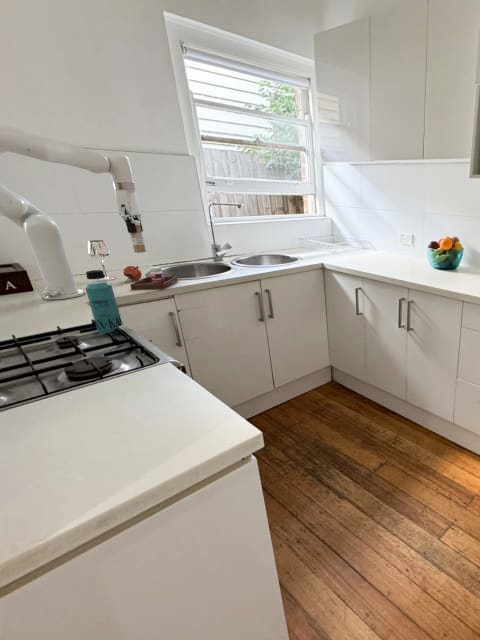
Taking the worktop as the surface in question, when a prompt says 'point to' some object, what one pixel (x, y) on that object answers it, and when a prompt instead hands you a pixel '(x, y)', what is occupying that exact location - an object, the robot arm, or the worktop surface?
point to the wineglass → (99, 254)
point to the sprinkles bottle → (138, 239)
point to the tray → (148, 284)
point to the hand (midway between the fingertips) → (135, 231)
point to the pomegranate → (132, 273)
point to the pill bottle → (157, 275)
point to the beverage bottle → (102, 303)
